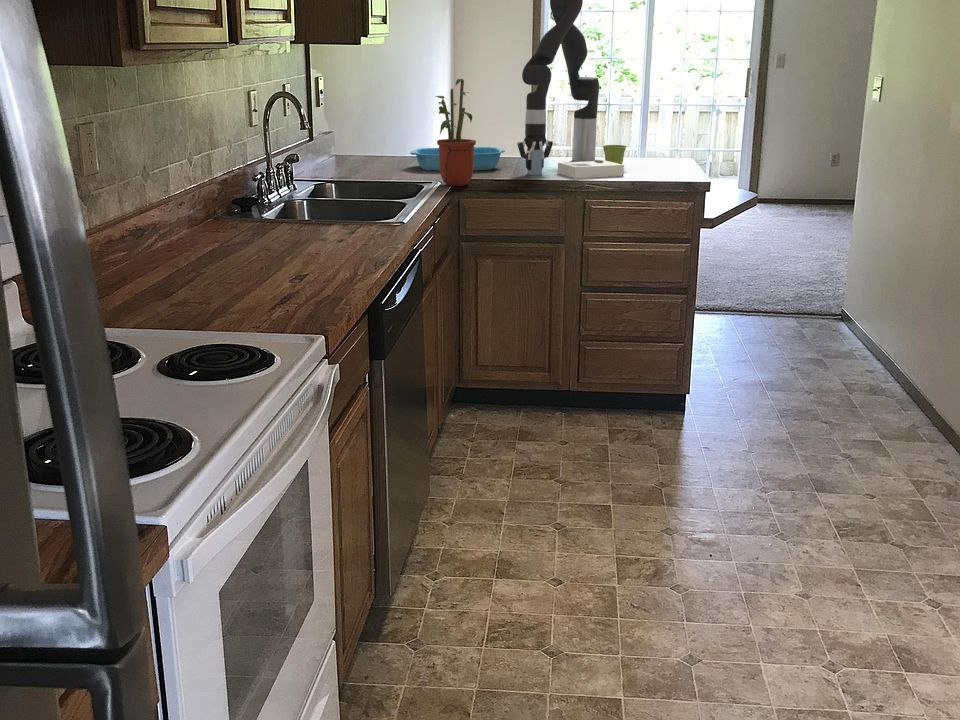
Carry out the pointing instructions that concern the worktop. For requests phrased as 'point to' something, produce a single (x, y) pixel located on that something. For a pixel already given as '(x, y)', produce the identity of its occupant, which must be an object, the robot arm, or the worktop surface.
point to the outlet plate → (590, 169)
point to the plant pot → (614, 153)
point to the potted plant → (455, 146)
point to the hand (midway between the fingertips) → (534, 169)
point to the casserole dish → (482, 158)
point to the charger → (536, 163)
